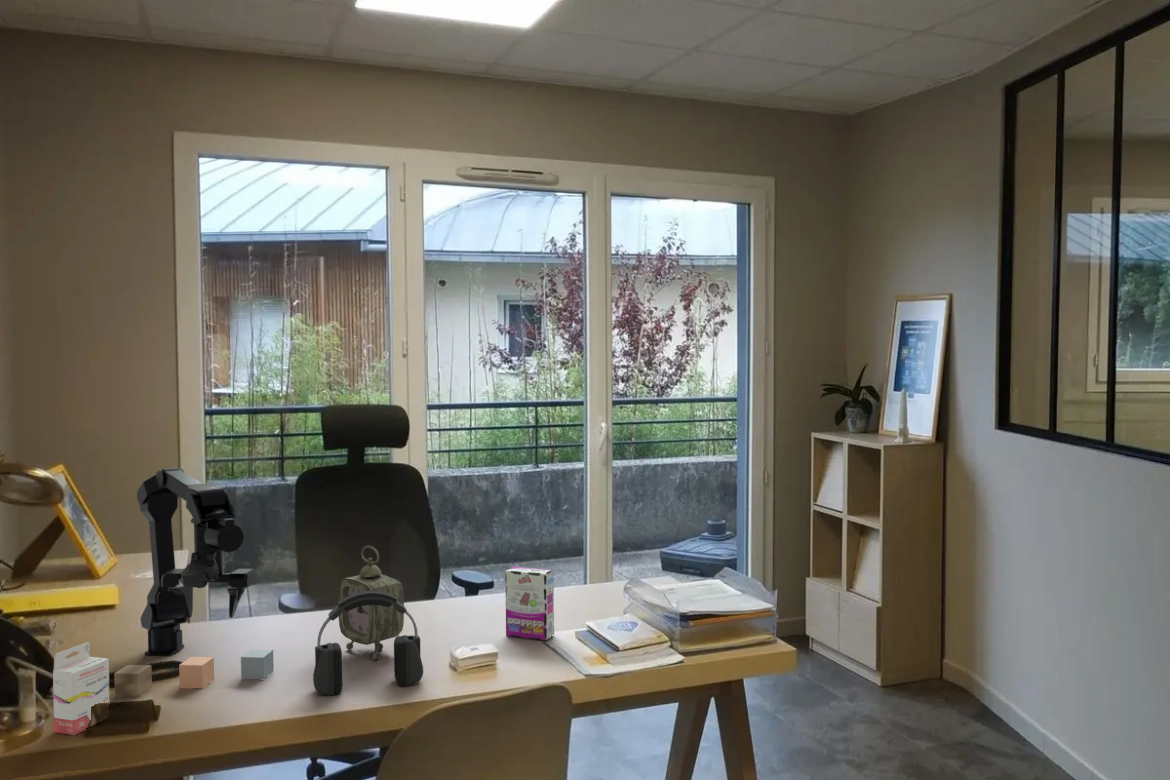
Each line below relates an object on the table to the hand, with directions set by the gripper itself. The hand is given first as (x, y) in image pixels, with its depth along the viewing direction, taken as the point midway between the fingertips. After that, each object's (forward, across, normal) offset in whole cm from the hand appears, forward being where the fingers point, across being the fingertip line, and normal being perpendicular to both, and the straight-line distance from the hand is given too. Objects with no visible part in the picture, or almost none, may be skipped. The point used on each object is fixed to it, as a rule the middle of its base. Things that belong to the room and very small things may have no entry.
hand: (210, 617), depth 197 cm
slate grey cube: (+13, +10, 0) cm, 16 cm away
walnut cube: (+13, -12, -10) cm, 20 cm away
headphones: (+13, +36, -5) cm, 39 cm away
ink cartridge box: (+13, -12, -27) cm, 32 cm away
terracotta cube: (+13, -1, -5) cm, 14 cm away
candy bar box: (+13, +66, +30) cm, 73 cm away
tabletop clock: (+13, +30, +16) cm, 37 cm away
